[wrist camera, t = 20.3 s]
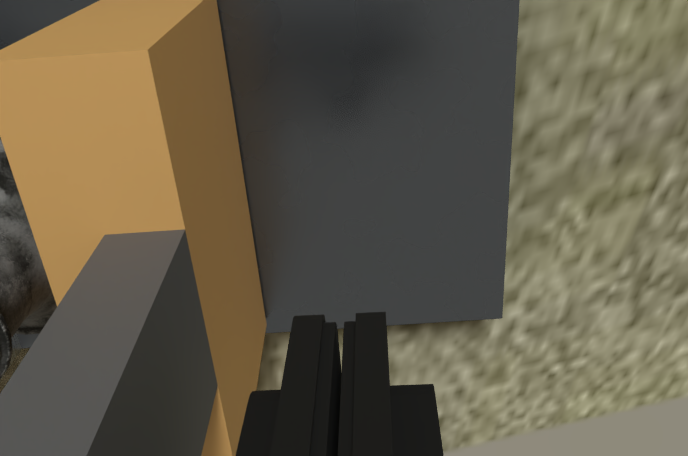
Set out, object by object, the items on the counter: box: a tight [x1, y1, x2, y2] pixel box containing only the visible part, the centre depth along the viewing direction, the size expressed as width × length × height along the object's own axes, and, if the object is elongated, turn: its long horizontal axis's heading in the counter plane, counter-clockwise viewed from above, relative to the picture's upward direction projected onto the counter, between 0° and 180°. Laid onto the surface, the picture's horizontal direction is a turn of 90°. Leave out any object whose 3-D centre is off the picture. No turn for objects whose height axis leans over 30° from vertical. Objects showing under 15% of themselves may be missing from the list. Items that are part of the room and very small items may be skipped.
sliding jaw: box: [0, 0, 267, 456], centre depth 14 cm, size 3×11×14 cm, turn 4°
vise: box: [0, 0, 519, 380], centre depth 18 cm, size 20×12×9 cm, turn 94°
